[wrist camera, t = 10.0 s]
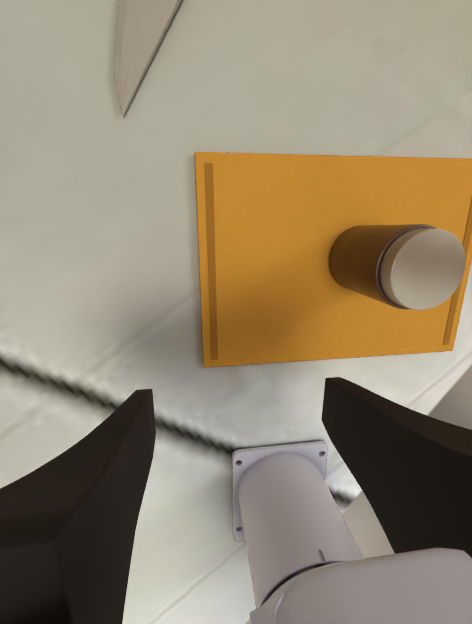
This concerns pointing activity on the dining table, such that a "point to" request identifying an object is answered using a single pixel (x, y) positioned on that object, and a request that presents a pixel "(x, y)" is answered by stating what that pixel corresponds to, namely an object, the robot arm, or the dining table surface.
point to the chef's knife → (138, 41)
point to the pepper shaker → (399, 264)
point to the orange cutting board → (316, 253)
